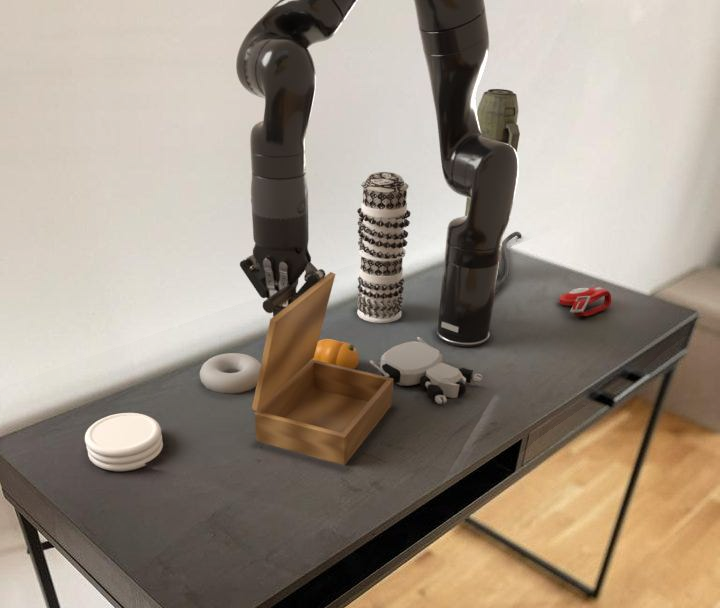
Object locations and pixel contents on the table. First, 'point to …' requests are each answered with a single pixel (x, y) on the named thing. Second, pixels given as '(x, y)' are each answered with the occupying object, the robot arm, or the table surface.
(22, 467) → the table surface
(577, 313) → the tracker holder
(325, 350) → the mango
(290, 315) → the lid
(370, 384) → the wooden box
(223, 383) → the donut
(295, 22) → the robot arm
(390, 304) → the decorative candle
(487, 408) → the table surface
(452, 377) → the robot toy
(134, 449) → the coaster
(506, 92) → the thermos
